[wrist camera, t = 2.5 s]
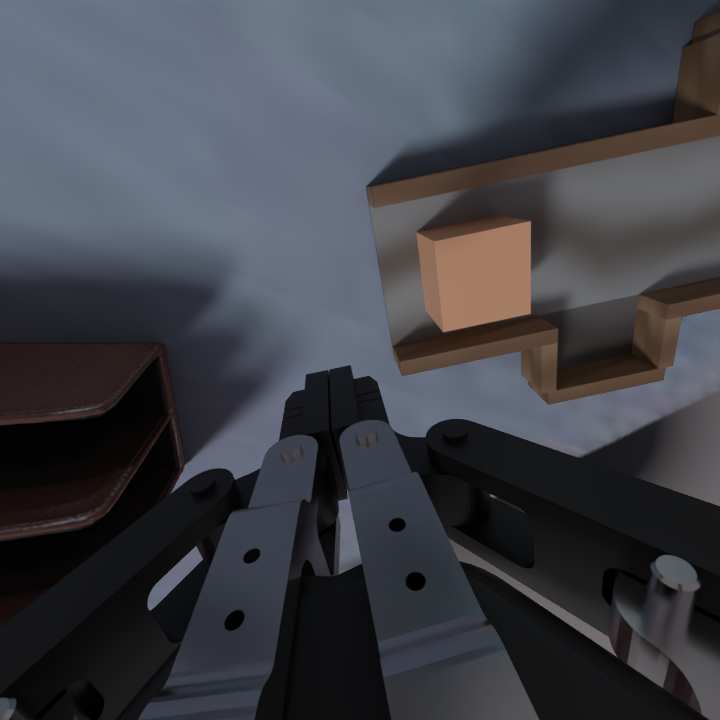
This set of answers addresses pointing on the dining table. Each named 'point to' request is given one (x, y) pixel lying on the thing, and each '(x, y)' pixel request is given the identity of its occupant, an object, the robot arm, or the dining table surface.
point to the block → (476, 271)
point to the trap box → (577, 245)
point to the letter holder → (78, 455)
